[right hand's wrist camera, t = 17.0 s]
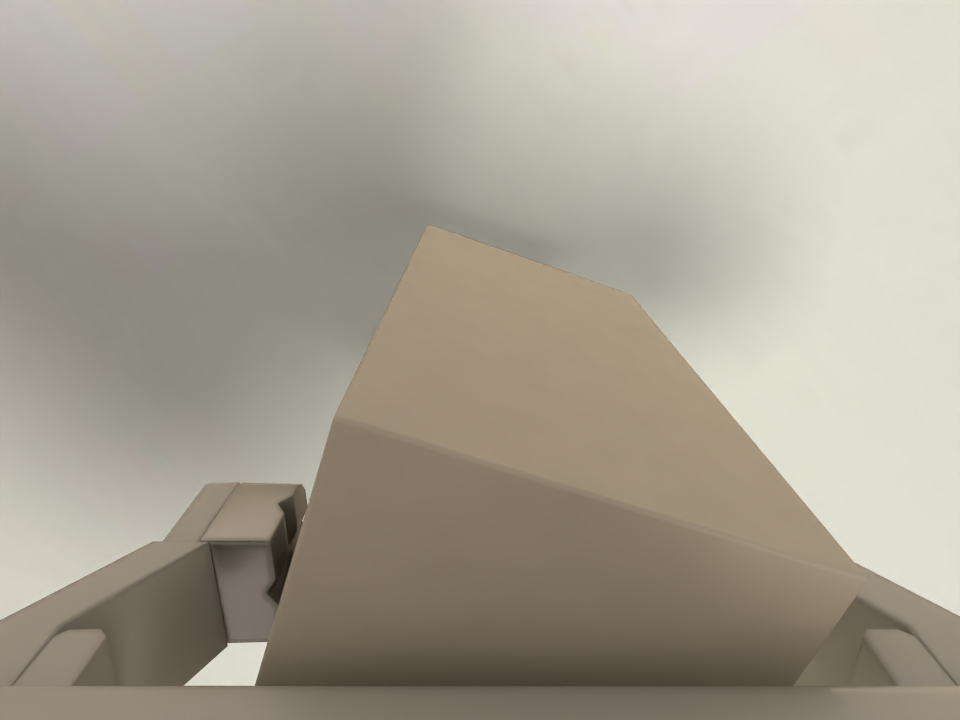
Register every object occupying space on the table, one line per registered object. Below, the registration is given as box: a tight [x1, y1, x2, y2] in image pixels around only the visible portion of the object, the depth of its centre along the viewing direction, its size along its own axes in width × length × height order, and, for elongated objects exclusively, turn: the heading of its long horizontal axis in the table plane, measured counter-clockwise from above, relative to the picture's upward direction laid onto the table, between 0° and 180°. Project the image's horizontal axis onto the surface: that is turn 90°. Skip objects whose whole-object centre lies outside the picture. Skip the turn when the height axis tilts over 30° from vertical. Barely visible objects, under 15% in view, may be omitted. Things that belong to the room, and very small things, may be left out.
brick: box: [255, 225, 867, 686], centre depth 11 cm, size 5×7×10 cm
